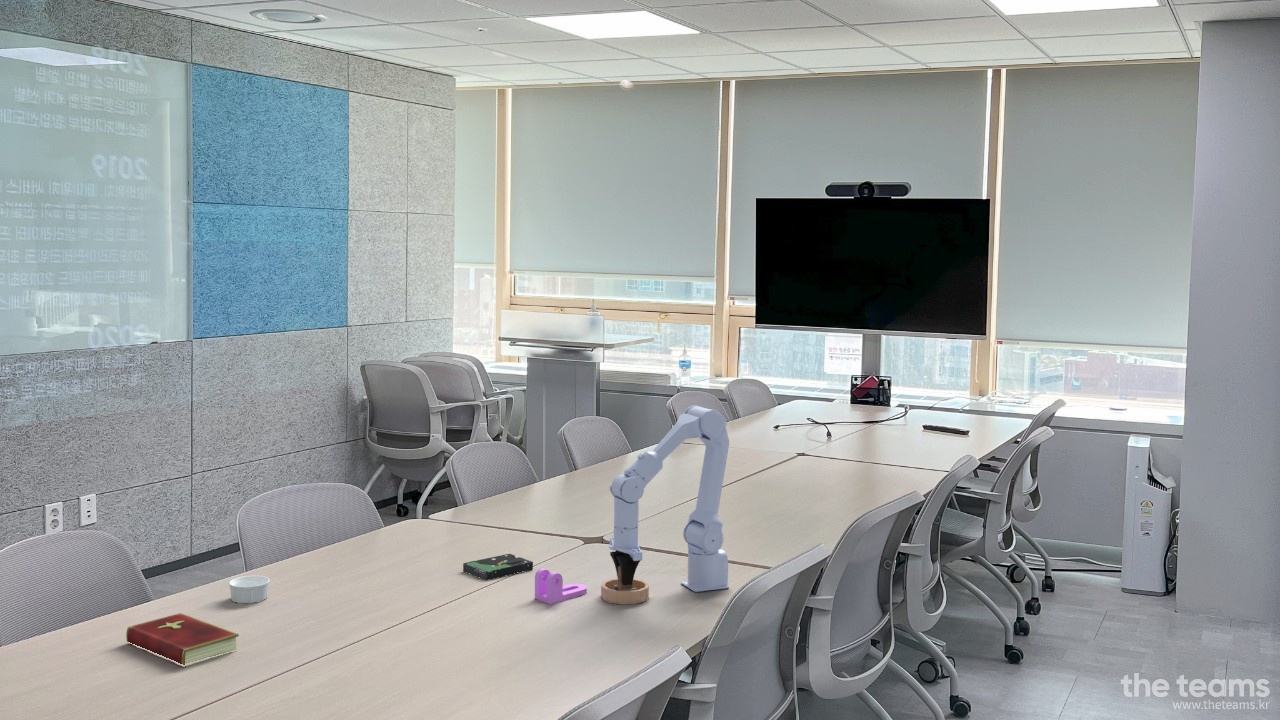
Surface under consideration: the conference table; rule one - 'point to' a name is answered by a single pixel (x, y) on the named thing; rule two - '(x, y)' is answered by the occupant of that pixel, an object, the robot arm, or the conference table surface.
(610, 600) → the round tan tray
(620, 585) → the long tan beam
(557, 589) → the bracket
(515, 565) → the disk drive
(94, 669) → the conference table surface
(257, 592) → the ramekin
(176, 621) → the hardcover book
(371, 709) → the conference table surface
